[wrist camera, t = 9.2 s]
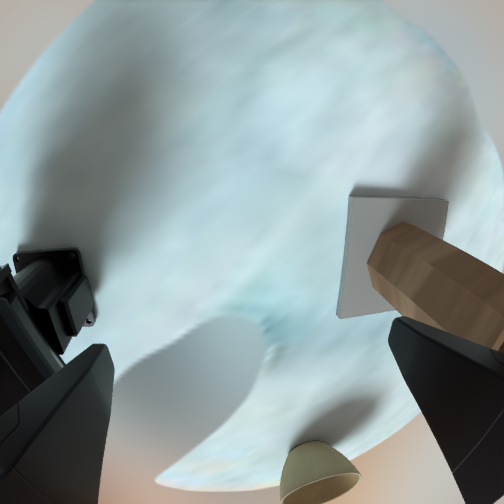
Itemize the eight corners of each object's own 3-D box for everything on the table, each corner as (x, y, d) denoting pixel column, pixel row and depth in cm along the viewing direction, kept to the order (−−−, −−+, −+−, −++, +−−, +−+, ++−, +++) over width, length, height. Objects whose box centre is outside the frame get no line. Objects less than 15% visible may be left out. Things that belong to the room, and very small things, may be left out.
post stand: (336, 314, 24) (363, 351, 20) (348, 195, 21) (388, 212, 16) (423, 299, 26) (456, 326, 21) (442, 199, 22) (484, 214, 18)
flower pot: (339, 456, 35) (355, 493, 28) (271, 473, 34) (282, 514, 27) (346, 420, 31) (368, 464, 24) (266, 440, 30) (279, 490, 23)
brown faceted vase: (376, 303, 24) (470, 406, 12) (361, 243, 22) (485, 340, 10) (428, 271, 24) (530, 349, 12) (419, 212, 22) (548, 276, 10)
